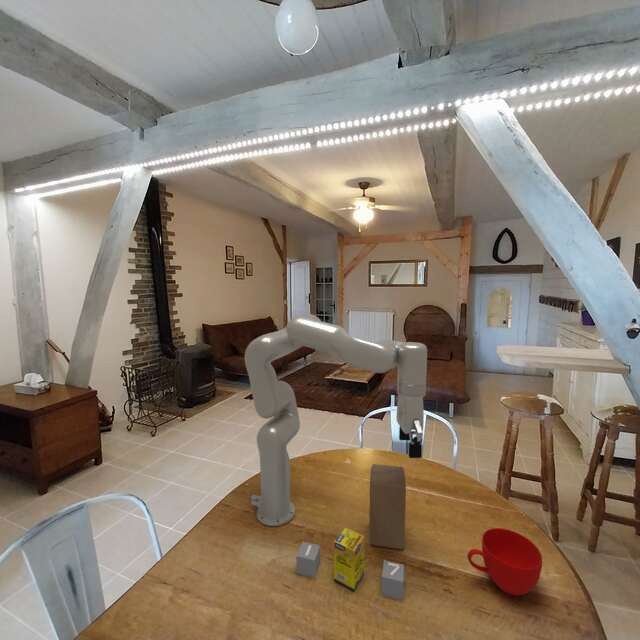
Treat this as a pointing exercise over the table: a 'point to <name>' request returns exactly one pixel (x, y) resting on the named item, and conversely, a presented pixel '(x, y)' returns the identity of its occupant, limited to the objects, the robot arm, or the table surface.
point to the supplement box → (349, 558)
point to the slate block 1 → (308, 559)
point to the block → (387, 506)
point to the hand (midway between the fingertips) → (409, 448)
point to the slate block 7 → (393, 580)
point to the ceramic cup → (509, 560)
